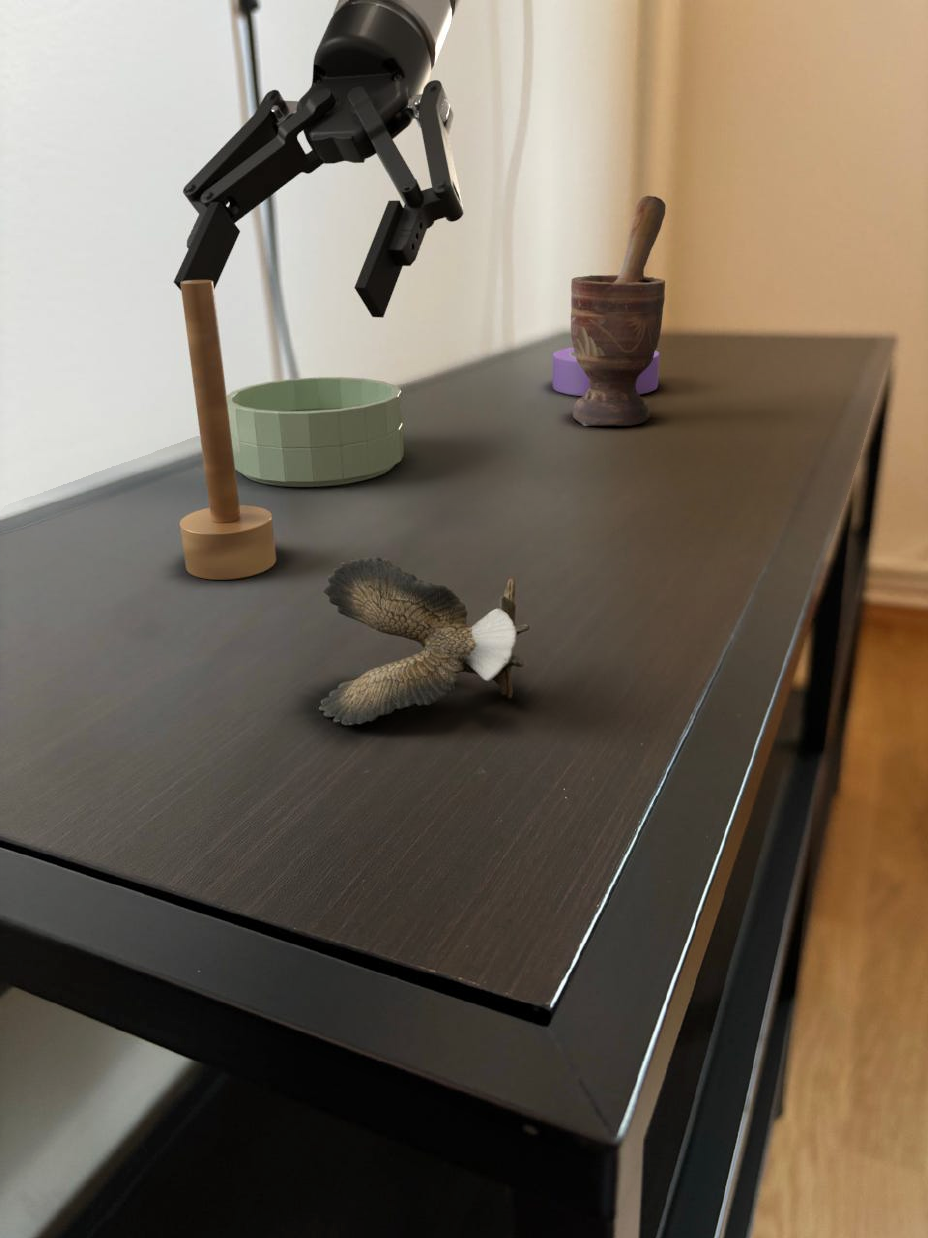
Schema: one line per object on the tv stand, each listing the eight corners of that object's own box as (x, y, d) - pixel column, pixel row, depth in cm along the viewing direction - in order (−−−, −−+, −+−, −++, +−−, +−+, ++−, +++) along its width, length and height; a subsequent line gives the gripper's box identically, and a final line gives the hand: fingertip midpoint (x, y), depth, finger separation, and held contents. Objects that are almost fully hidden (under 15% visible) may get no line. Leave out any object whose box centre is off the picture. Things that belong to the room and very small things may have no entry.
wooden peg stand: (173, 579, 60) (129, 287, 53) (201, 548, 65) (164, 276, 58) (264, 580, 60) (231, 285, 53) (285, 548, 65) (258, 275, 58)
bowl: (211, 489, 77) (201, 413, 75) (257, 443, 90) (250, 377, 88) (391, 489, 76) (387, 412, 74) (412, 443, 89) (409, 376, 87)
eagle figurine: (495, 624, 51) (319, 606, 49) (533, 539, 45) (335, 516, 43) (502, 760, 46) (310, 746, 45) (545, 686, 41) (326, 668, 39)
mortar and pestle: (578, 401, 104) (584, 195, 96) (661, 404, 102) (675, 194, 94) (561, 427, 94) (566, 199, 86) (653, 431, 92) (668, 197, 84)
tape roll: (533, 391, 109) (533, 356, 108) (582, 374, 118) (583, 341, 116) (630, 402, 103) (632, 365, 102) (674, 383, 112) (676, 348, 110)
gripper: (564, 82, 66) (473, 346, 60) (260, 100, 76) (156, 328, 70) (536, -23, 60) (431, 261, 54) (207, 12, 70) (87, 254, 64)
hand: (275, 299), depth 62 cm, fingers open, 13 cm apart
